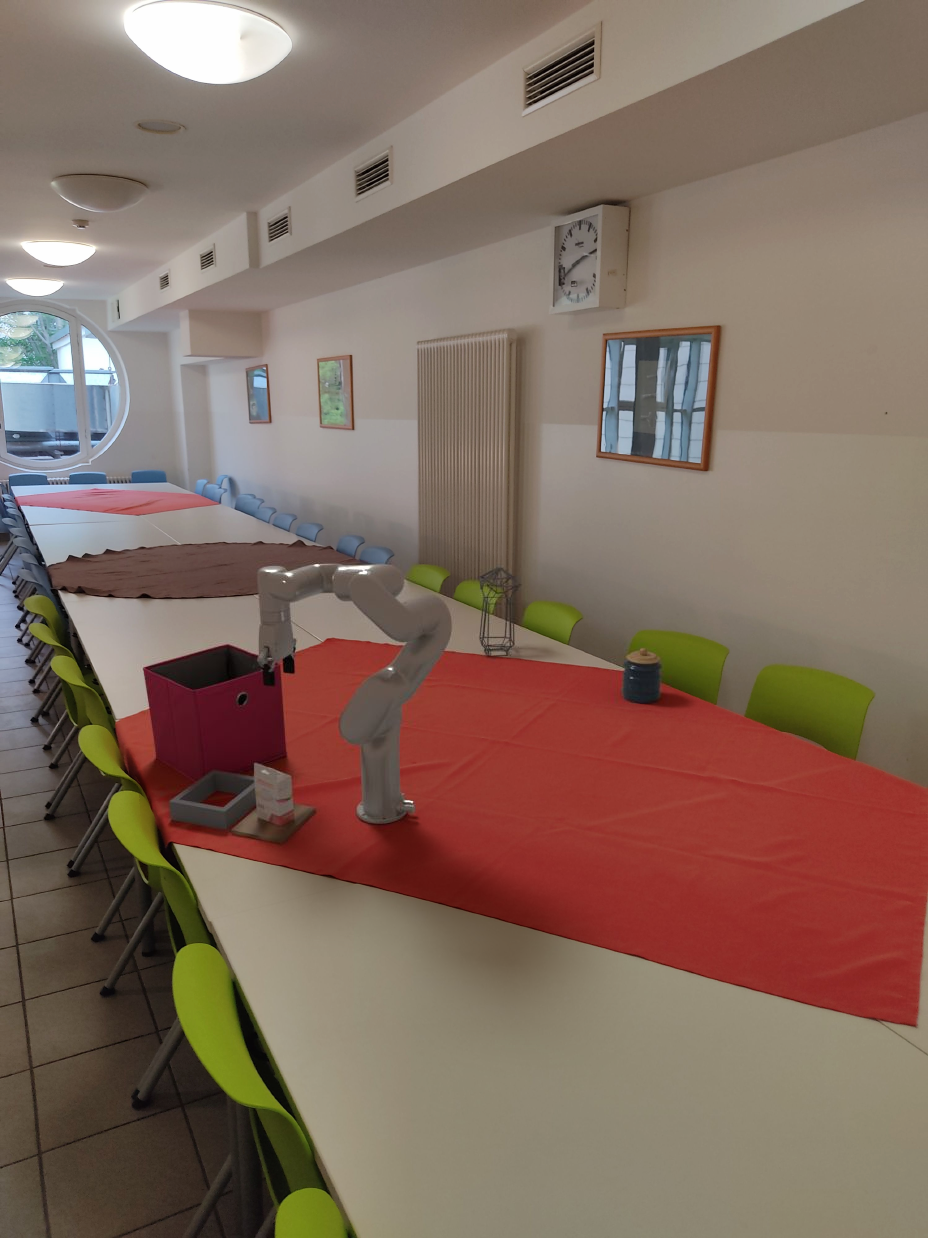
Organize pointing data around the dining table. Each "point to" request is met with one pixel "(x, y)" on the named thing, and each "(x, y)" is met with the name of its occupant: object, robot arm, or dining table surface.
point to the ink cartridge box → (273, 795)
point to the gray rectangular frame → (194, 812)
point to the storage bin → (215, 712)
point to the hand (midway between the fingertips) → (279, 679)
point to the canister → (642, 677)
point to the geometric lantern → (492, 573)
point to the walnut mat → (272, 825)
